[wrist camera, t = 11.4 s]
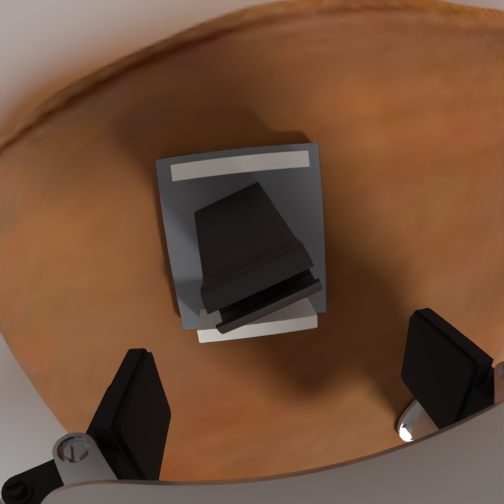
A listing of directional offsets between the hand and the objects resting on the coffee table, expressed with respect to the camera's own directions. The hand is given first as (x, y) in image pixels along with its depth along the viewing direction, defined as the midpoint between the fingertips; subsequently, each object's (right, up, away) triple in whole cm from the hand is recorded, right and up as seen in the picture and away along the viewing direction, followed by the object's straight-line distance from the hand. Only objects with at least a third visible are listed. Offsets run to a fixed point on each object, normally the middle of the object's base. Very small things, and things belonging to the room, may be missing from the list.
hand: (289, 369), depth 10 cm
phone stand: (-2, +5, +17) cm, 18 cm away
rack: (-2, +5, +19) cm, 19 cm away
